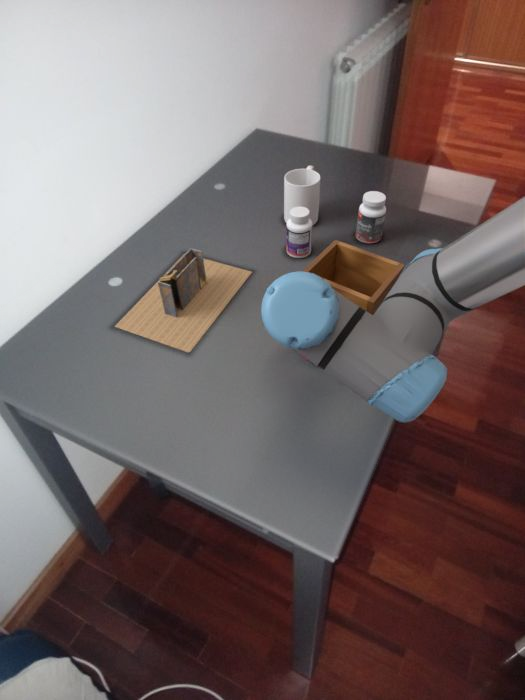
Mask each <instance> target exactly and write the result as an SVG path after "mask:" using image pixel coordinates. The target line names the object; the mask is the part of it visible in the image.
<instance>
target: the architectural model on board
mask: <svg viewBox="0 0 525 700" xmlns="http://www.w3.org/2000/svg"><path fill="white" fill-rule="evenodd" d="M252 273H253V271H250V270H247V269H244V268H241V267H236V266H233V265H229V264H226V263H223V262H222V263H221V262H218V261H214V260H211V259H207V258H204V254H203V251H202V250H199V249H196V248H191V247H190V248H189V249H188V250H187V251H186V253H183V255H181V257H179V259H178V260H176V262H175V263H174V264H173V265H172V266H171V267H170V268H169V269H168V270H167V271H166V272H165V274H163V275H162V276H161V277H159V280H158V281H157V282H155V284H153V286H152V287H151V288H150V289H148V291H147V292H146V293H145V294H144V295H143V296H142V297H141V298H140V299H139V301H137V302H136V304H134V305H133V306H132V308H131V309H130V310H129V311H128V312H127V313H126V314H125V315H124V316H123V317H121V319H120V320H119V321H118V322H117V323H116V324H115V325H114V328H116V329H120V330H122V331H124V332H125V331H126V332H128V333H131V334H134V335H137V336H140V337H143V338H145V339H148V340H151V341H154V342H156V343H159V344H162V345H166V346H168V347H171V348H174V349H177V350H180V351H183V352H185V353H187V354H188V353H191V352H192V350H193V349H194V348H195V347H196V345H197V344H198V343H199V341H201V339H202V338H203V336H204V335H205V333H206V332H207V331H208V330H209V329H210V327H211V326H212V324H213V323H214V322H215V321H216V319H217V318H218V317H219V316H220V314H221V313H222V312H223V310H224V309H225V308H226V307H227V305H228V304H229V303H230V301H231V300H232V299H233V298H234V297H235V295H236V294H237V293H238V291H239V290H240V289H241V288H242V287H243V285H244V284H245V282H246V281H247V279H248V278H249V277H250V276H251V274H252Z"/></svg>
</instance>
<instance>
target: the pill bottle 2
mask: <svg viewBox="0 0 525 700" xmlns="http://www.w3.org/2000/svg"><path fill="white" fill-rule="evenodd" d="M386 200H387V196H386V194H385V193H383V192H381V191H377V190H370V191H366V192H365V193H364V194H363V195H362V203H361V204H359V207H358V214H357V221H356V229H355V238H356V240H358V241H359V242H361V243H363V244H375V243H378V242H379V241H381V239H382V237H383V231H384V226H385V225H384V224H385V220H386V215H387V207H386V205H385V204H386Z"/></svg>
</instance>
